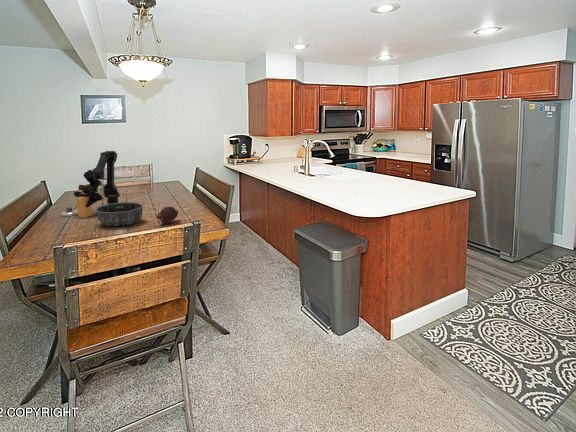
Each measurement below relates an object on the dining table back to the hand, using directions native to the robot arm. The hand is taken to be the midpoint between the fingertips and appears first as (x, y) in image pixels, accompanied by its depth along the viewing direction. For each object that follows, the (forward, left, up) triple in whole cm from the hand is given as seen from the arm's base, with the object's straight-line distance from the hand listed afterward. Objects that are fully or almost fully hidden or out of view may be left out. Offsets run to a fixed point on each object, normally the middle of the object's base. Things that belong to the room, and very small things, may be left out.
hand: (82, 206), depth 241 cm
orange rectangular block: (-1, -1, -7) cm, 7 cm away
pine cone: (-28, +55, -7) cm, 63 cm away
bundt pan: (-9, +33, -7) cm, 35 cm away
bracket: (-18, -43, -7) cm, 47 cm away
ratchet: (-2, -15, -7) cm, 17 cm away
